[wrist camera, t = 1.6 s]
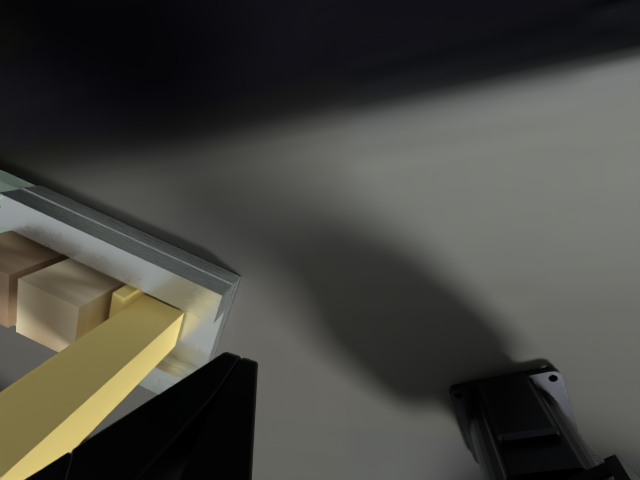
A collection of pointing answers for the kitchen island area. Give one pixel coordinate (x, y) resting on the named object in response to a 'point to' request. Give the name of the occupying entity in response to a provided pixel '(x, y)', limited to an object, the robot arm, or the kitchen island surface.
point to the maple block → (63, 303)
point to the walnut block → (19, 269)
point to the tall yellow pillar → (83, 383)
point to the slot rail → (133, 271)
